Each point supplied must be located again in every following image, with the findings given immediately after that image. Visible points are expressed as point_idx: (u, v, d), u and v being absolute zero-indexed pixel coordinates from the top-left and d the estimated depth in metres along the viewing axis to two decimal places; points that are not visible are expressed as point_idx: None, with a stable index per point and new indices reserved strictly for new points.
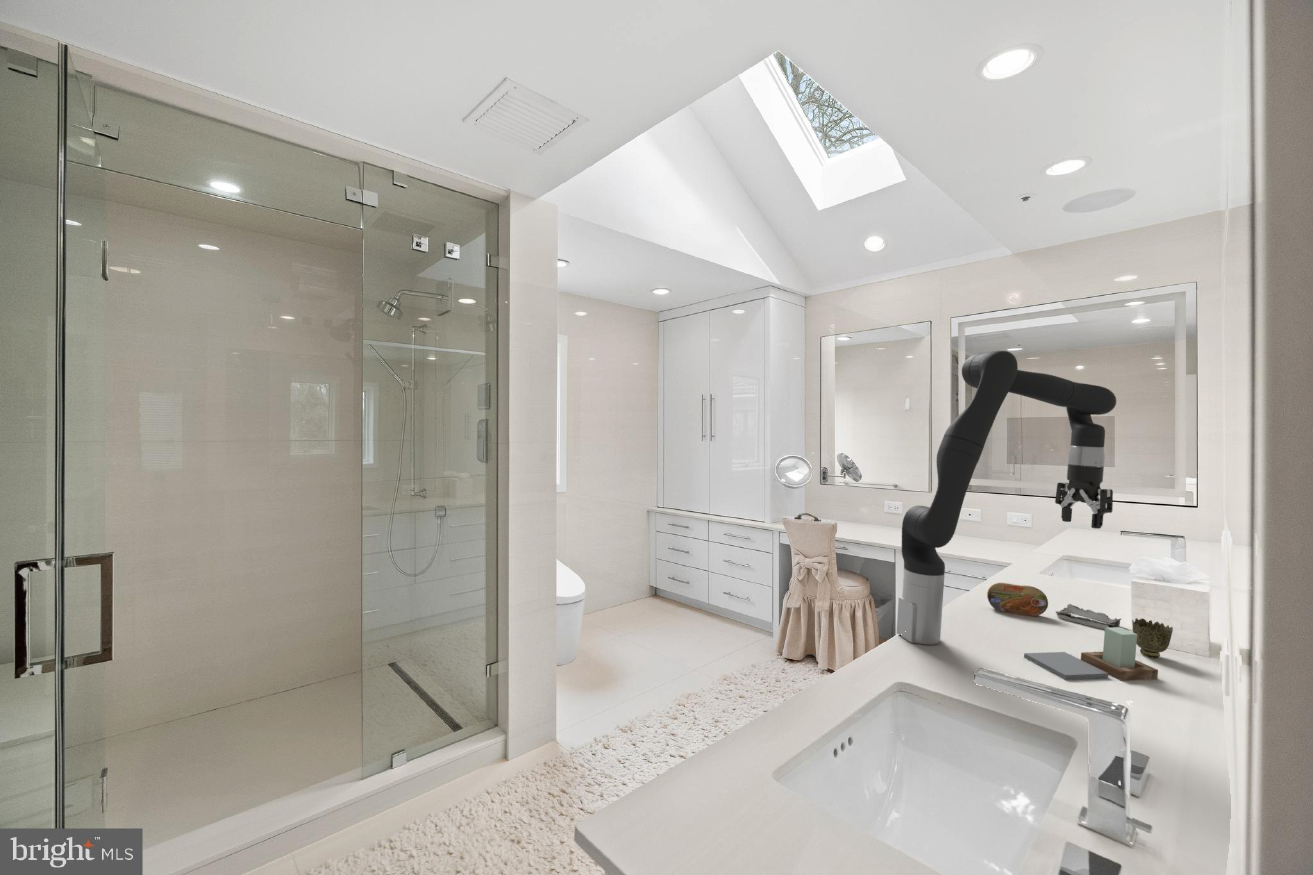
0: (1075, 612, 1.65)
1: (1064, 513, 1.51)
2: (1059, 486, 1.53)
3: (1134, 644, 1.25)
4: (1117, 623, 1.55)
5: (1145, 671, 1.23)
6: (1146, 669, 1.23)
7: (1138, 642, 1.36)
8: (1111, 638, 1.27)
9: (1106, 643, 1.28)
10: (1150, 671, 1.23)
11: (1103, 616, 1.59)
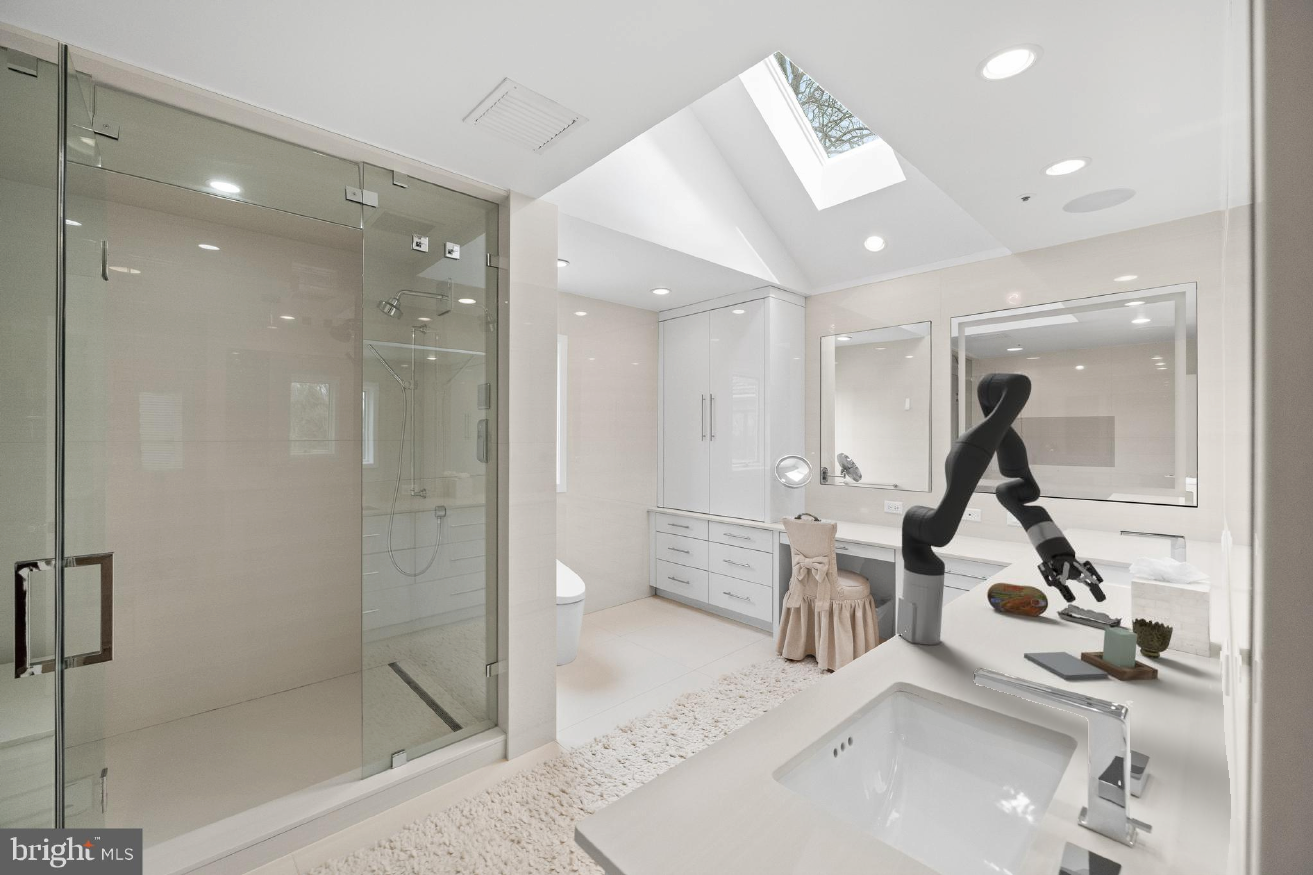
0: (1076, 612, 1.65)
1: (1070, 590, 1.35)
2: (1047, 564, 1.40)
3: (1134, 644, 1.25)
4: (1118, 623, 1.55)
5: (1145, 671, 1.23)
6: (1146, 669, 1.23)
7: (1138, 642, 1.36)
8: (1111, 638, 1.27)
9: (1106, 643, 1.28)
10: (1150, 671, 1.23)
11: (1104, 616, 1.59)
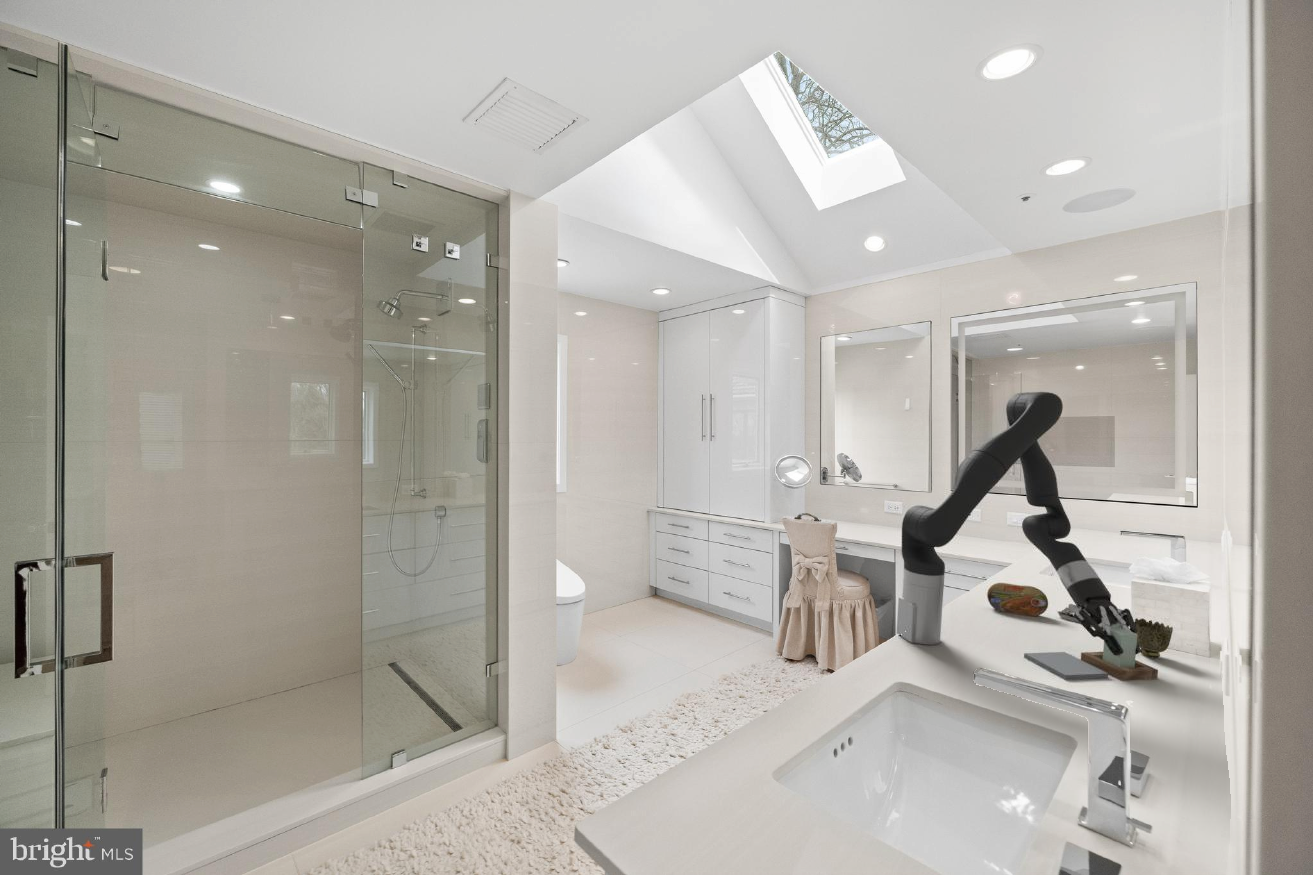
0: None
1: (1117, 642, 1.26)
2: (1085, 613, 1.30)
3: (1134, 644, 1.25)
4: None
5: (1145, 671, 1.23)
6: (1146, 669, 1.23)
7: (1138, 642, 1.36)
8: None
9: None
10: (1150, 671, 1.23)
11: None
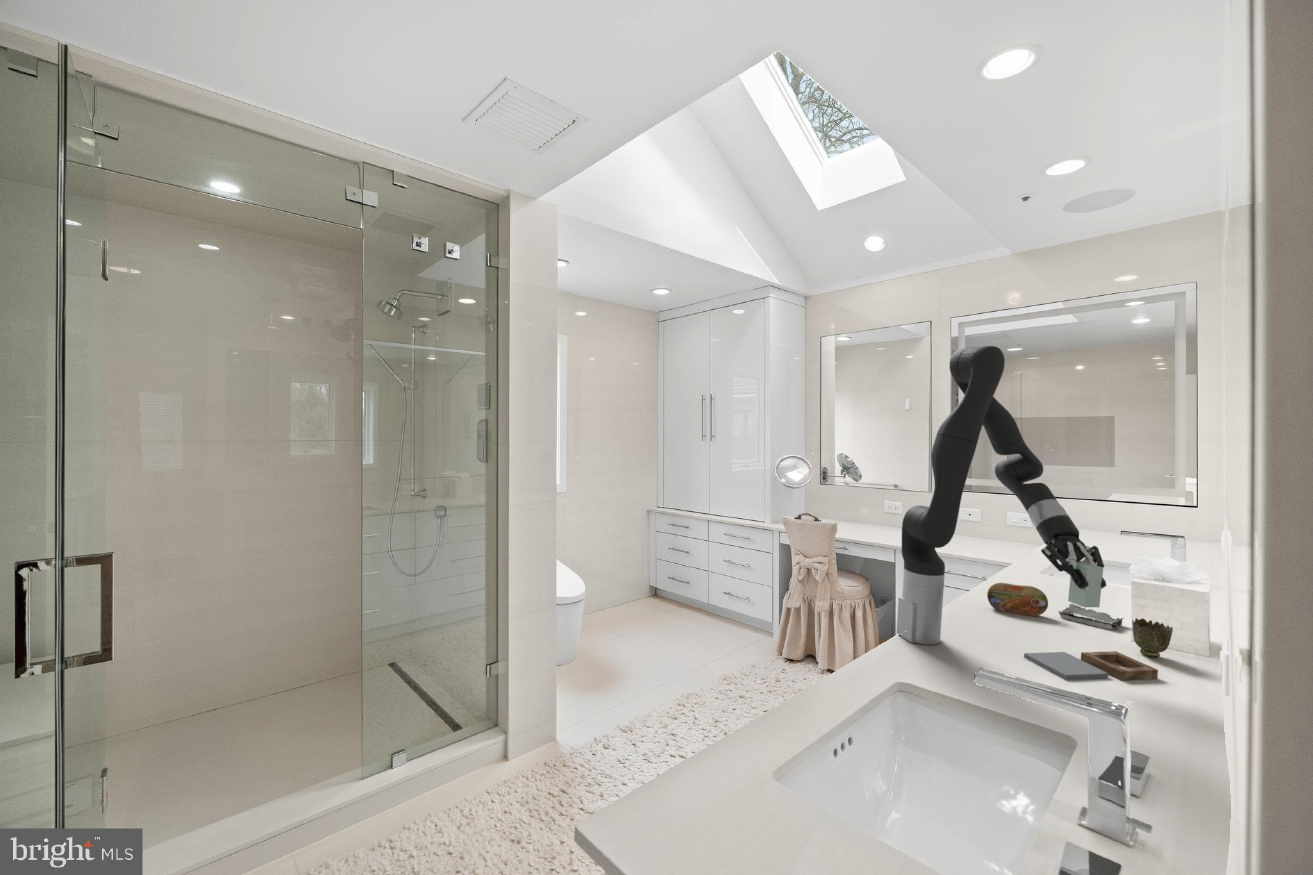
0: (1077, 612, 1.65)
1: (1082, 575, 1.25)
2: (1052, 547, 1.29)
3: (1100, 578, 1.25)
4: (1119, 623, 1.56)
5: (1145, 671, 1.23)
6: (1146, 669, 1.23)
7: (1138, 642, 1.36)
8: None
9: None
10: (1150, 671, 1.23)
11: (1105, 616, 1.60)
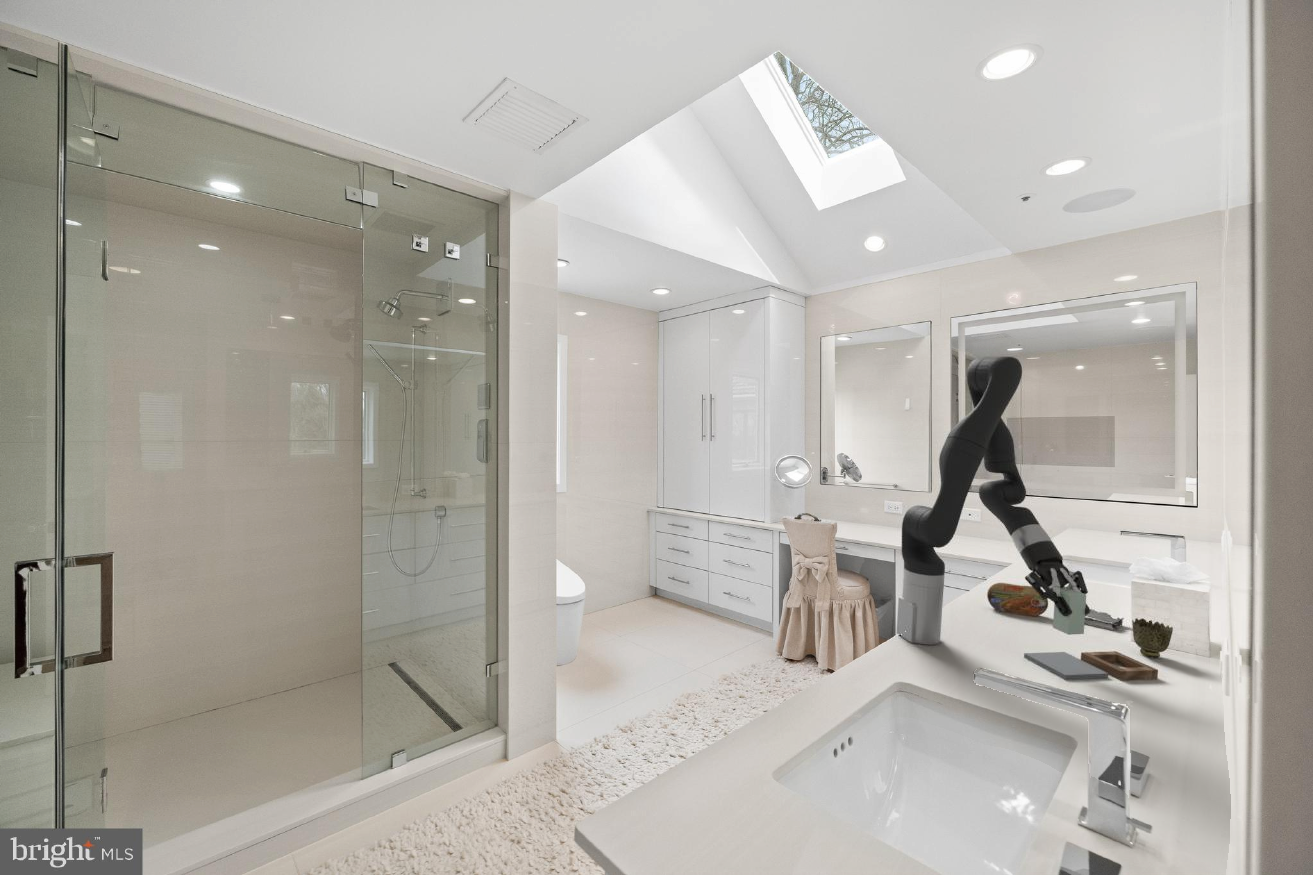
0: None
1: (1066, 603, 1.25)
2: (1036, 575, 1.29)
3: (1083, 604, 1.25)
4: (1120, 622, 1.56)
5: (1145, 671, 1.23)
6: (1146, 669, 1.23)
7: (1138, 642, 1.36)
8: None
9: None
10: (1150, 671, 1.23)
11: (1105, 615, 1.60)
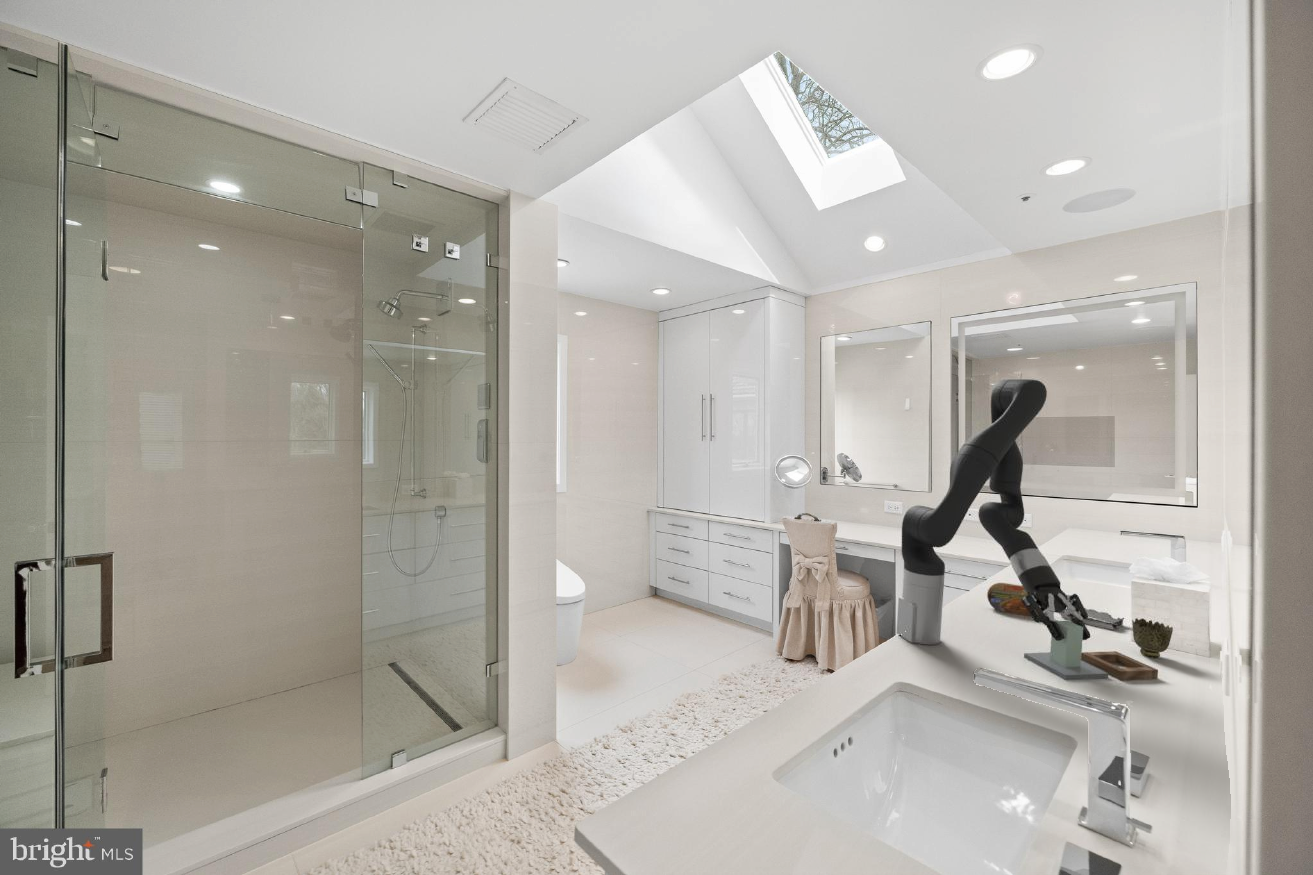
0: None
1: (1058, 627, 1.26)
2: (1031, 598, 1.30)
3: (1080, 637, 1.25)
4: (1120, 622, 1.56)
5: (1145, 671, 1.23)
6: (1146, 669, 1.23)
7: (1138, 642, 1.36)
8: None
9: None
10: (1150, 671, 1.23)
11: (1106, 615, 1.60)
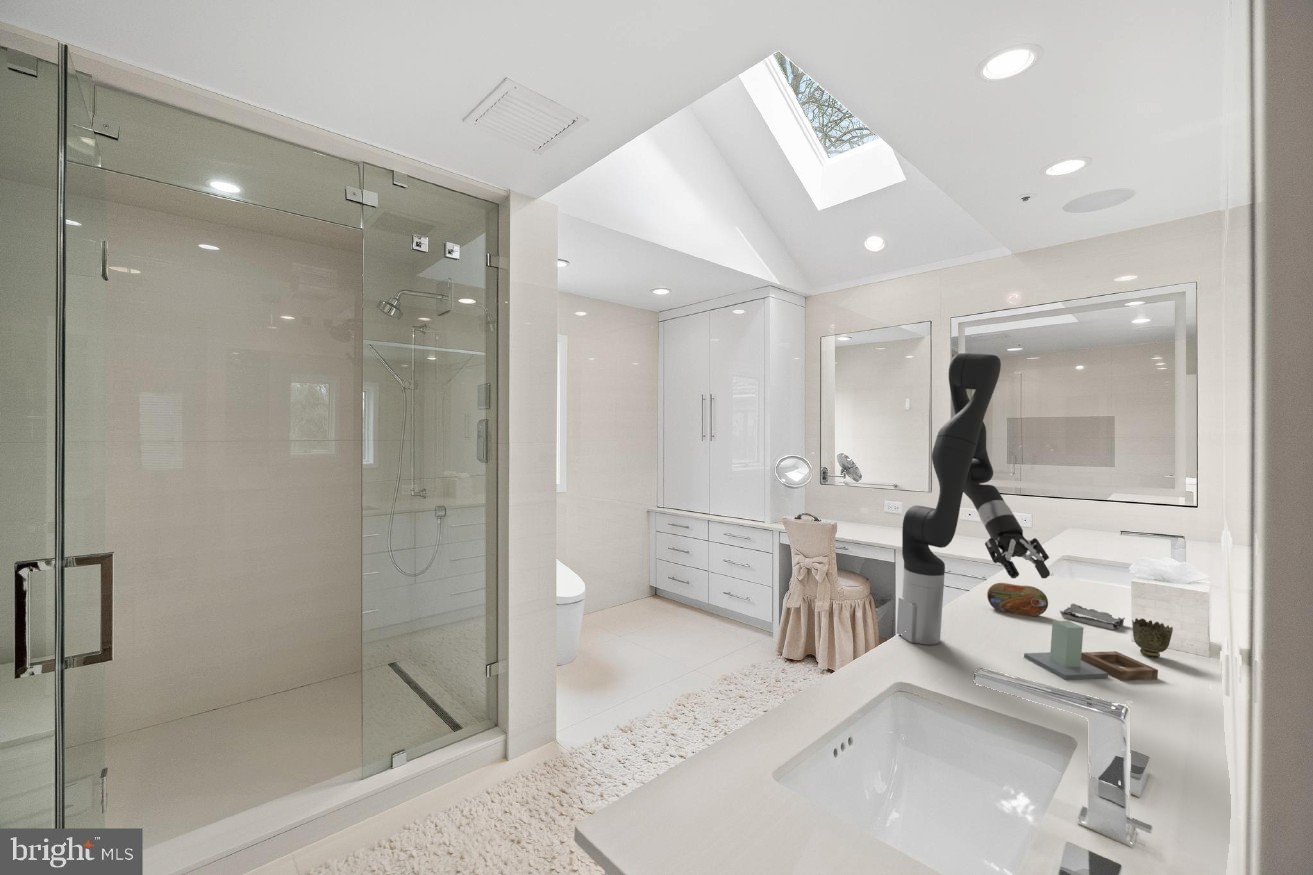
0: (1078, 612, 1.65)
1: (1014, 566, 1.37)
2: (994, 541, 1.42)
3: (1080, 637, 1.25)
4: (1121, 622, 1.56)
5: (1145, 671, 1.23)
6: (1146, 669, 1.23)
7: (1138, 642, 1.36)
8: (1058, 631, 1.27)
9: (1053, 636, 1.28)
10: (1150, 671, 1.23)
11: (1106, 615, 1.60)
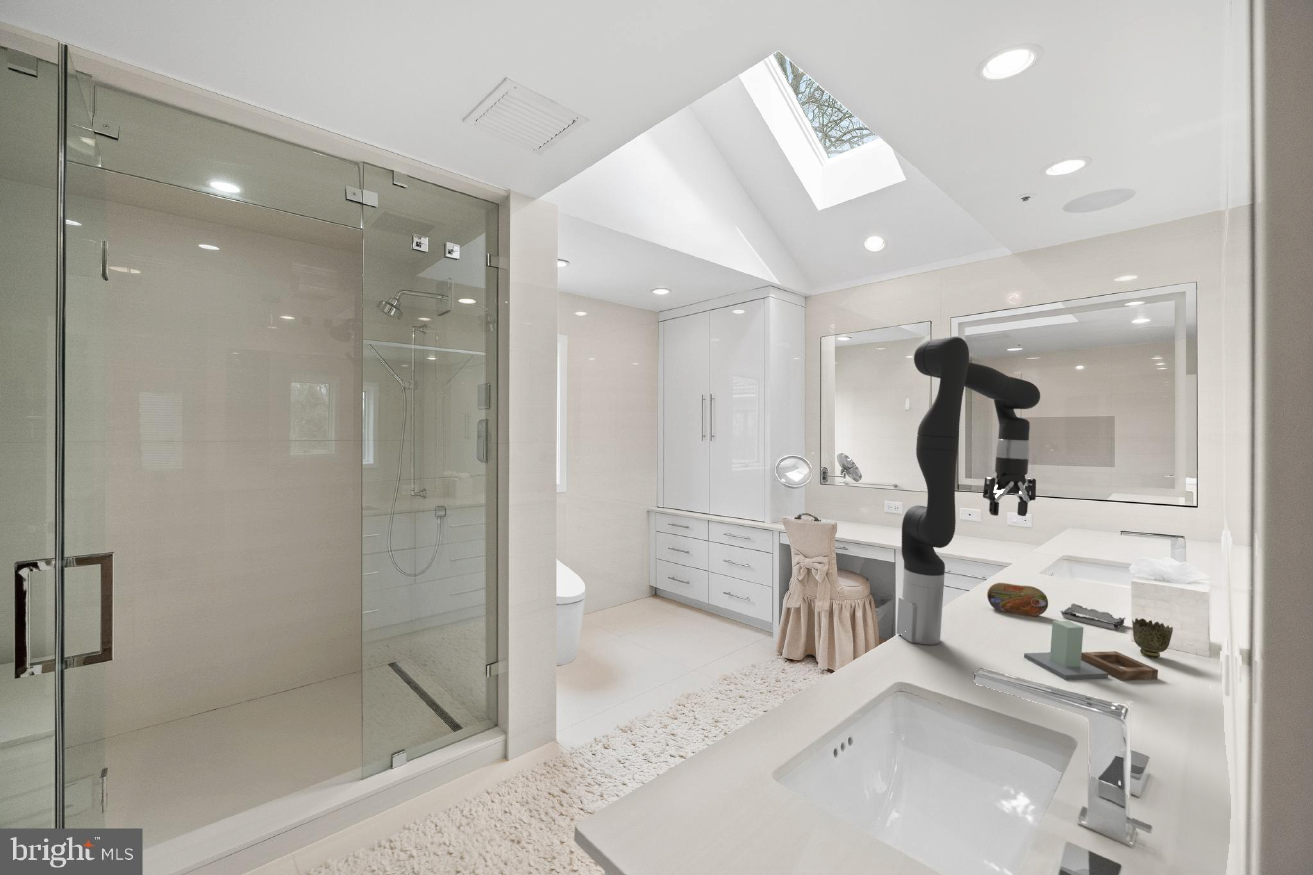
0: (1079, 612, 1.66)
1: (998, 507, 1.51)
2: (993, 481, 1.50)
3: (1080, 637, 1.25)
4: (1121, 622, 1.56)
5: (1145, 671, 1.23)
6: (1146, 669, 1.23)
7: (1138, 642, 1.36)
8: (1058, 631, 1.27)
9: (1053, 636, 1.28)
10: (1150, 671, 1.23)
11: (1107, 615, 1.60)
